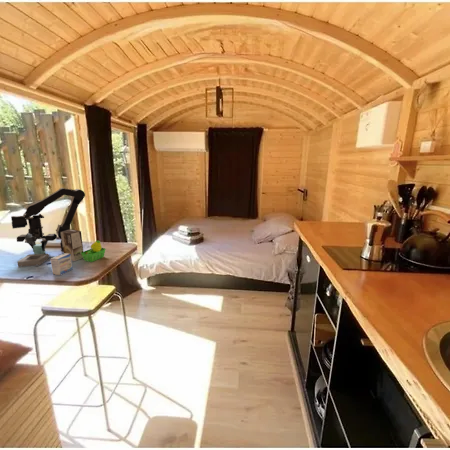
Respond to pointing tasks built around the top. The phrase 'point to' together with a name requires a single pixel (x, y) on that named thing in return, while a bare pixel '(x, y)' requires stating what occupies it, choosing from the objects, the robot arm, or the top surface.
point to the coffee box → (72, 243)
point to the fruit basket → (94, 252)
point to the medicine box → (61, 263)
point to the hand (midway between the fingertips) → (39, 251)
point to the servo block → (38, 249)
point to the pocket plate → (33, 259)
